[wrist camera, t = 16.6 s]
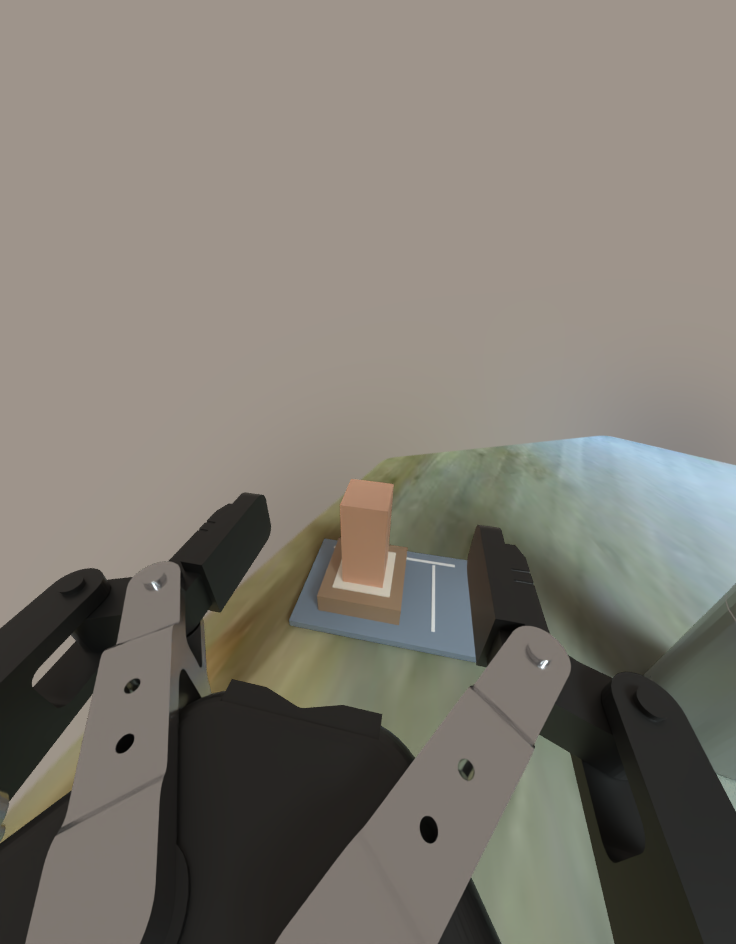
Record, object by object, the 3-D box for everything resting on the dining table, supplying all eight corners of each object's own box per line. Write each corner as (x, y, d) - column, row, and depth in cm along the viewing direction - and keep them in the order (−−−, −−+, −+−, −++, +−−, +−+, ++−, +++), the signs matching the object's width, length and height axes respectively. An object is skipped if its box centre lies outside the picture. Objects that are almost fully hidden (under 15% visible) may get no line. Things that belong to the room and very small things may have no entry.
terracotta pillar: (387, 557, 42) (393, 484, 35) (382, 588, 38) (388, 511, 31) (351, 551, 42) (351, 478, 36) (342, 581, 38) (339, 505, 32)
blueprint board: (466, 565, 46) (472, 546, 44) (477, 662, 34) (485, 642, 32) (324, 543, 49) (323, 524, 47) (289, 625, 37) (285, 605, 35)
